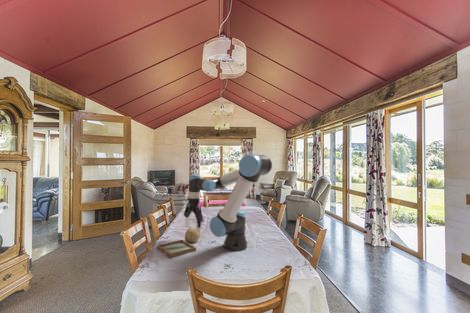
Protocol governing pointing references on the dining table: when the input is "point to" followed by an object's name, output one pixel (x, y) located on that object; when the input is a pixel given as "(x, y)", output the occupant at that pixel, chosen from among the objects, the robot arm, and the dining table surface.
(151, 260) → the dining table surface
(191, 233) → the coral
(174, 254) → the base
